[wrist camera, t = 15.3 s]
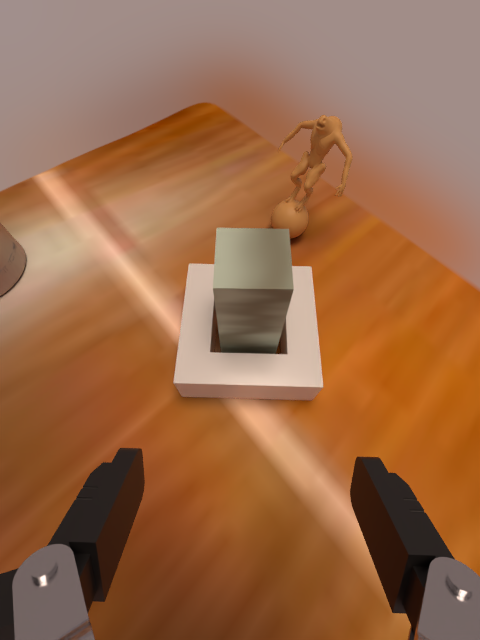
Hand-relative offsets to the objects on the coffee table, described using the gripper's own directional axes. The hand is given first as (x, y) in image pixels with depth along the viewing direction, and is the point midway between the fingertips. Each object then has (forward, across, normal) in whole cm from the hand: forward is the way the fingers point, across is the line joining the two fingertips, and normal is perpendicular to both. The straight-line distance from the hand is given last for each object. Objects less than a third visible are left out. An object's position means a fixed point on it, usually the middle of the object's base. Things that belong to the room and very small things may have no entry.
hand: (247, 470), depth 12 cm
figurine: (+28, -5, -8) cm, 29 cm away
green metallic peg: (+18, 0, +2) cm, 18 cm away
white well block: (+18, 0, +2) cm, 18 cm away
